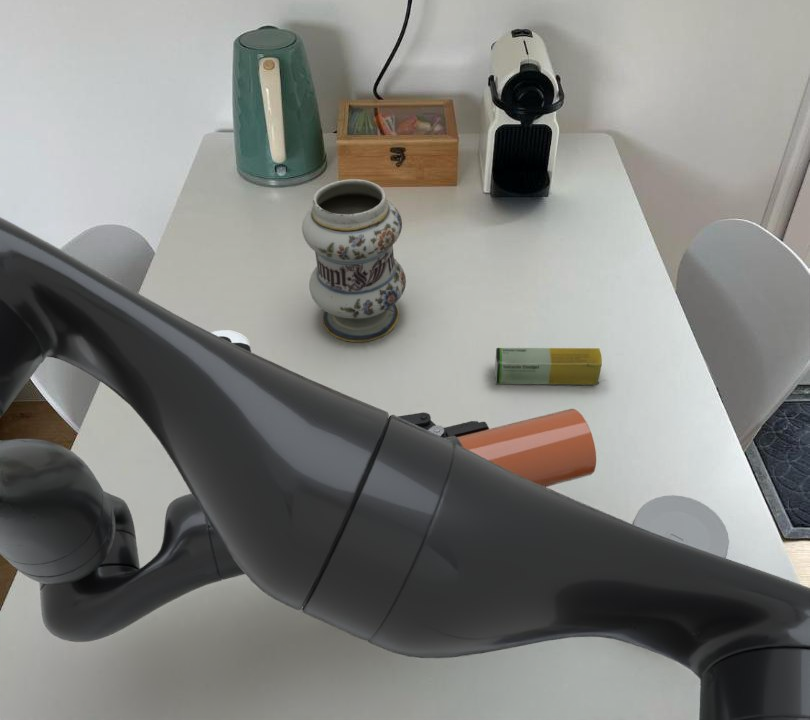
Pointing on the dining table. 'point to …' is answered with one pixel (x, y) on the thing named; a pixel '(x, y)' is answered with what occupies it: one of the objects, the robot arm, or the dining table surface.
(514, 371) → the medication box
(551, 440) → the jar
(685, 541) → the canned food
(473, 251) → the dining table surface
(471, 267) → the dining table surface
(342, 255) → the apothecary jar
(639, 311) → the dining table surface
